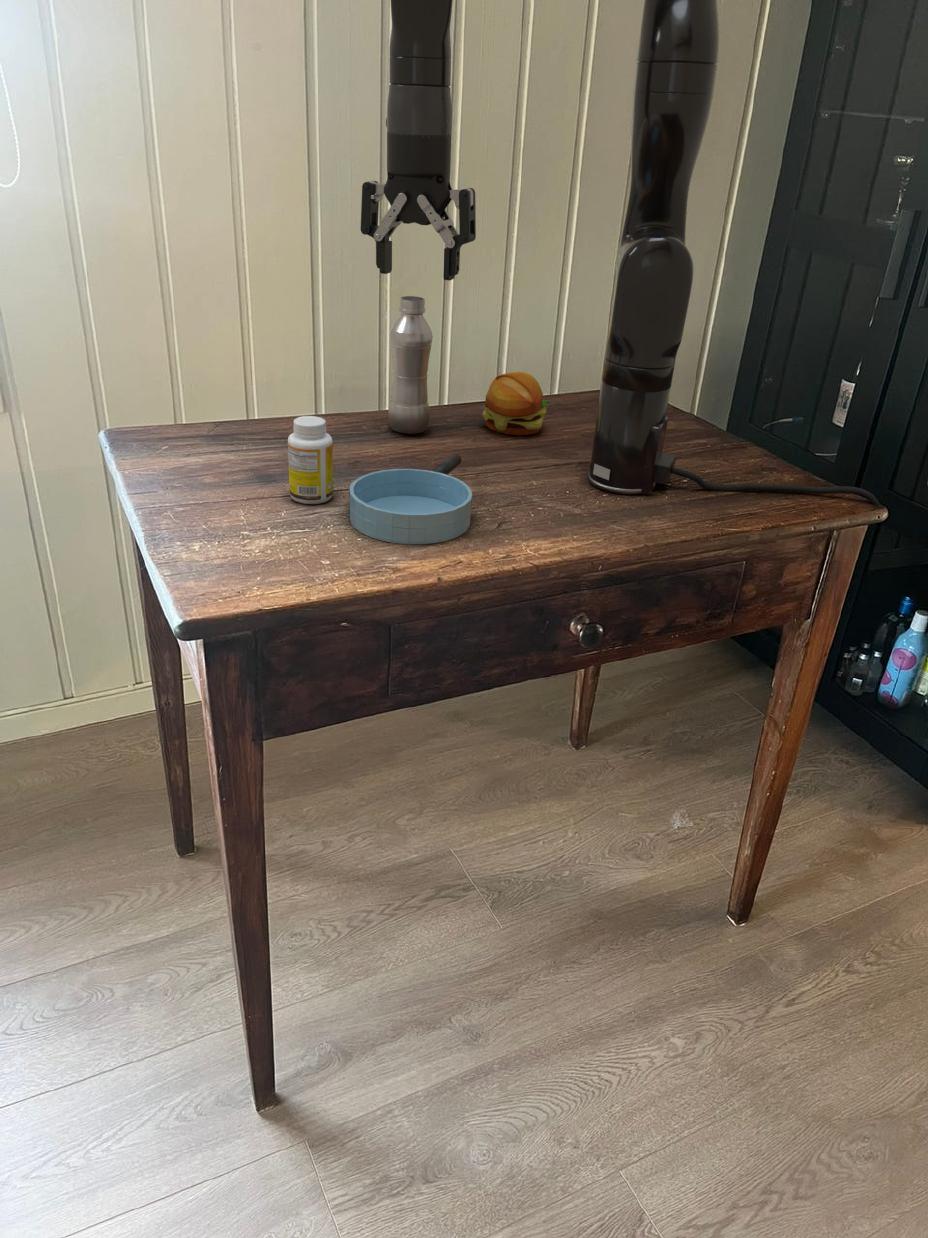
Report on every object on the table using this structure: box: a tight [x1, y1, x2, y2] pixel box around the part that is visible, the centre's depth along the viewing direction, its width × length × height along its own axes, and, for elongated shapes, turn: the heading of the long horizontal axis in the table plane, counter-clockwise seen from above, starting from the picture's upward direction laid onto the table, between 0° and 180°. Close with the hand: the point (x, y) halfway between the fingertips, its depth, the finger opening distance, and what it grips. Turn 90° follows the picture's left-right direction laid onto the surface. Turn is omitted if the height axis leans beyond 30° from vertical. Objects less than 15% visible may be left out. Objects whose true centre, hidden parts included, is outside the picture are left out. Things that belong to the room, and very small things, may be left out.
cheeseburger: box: [482, 371, 550, 436], centre depth 150 cm, size 10×11×10 cm
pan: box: [348, 468, 473, 545], centre depth 117 cm, size 15×15×4 cm
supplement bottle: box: [287, 415, 334, 505], centre depth 120 cm, size 6×6×10 cm
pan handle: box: [432, 453, 462, 475], centre depth 126 cm, size 9×2×2 cm, turn 159°
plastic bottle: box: [387, 295, 434, 435], centre depth 143 cm, size 6×7×20 cm
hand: (417, 276), depth 118 cm, fingers open, 8 cm apart
